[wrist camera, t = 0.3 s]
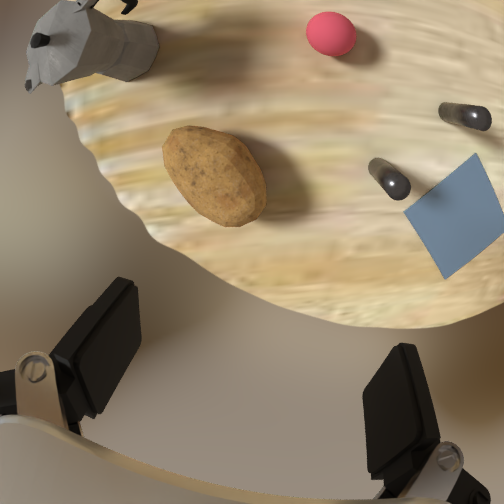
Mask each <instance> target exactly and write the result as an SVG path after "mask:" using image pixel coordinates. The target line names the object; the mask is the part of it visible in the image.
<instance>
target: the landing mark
mask: <svg viewBox="0 0 504 504" xmlns="http://www.w3.org/2000/svg"><path fill="white" fill-rule="evenodd" d="M404 214H405V215H406V217H407V218H408V220H409V221H410V223H411V224H412V226H413V227H414V229H415V230H416V232H417V233H418V235H419V237H420V238H421V240H422V241H423V243H424V245H425V246H426V248H427V249H428V251H429V253H430V254H431V256H432V258H433V260H434V261H435V263H436V265H437V266H438V268H439V270H440V272H441V273H442V275H443V277H444V279H447V278H448V277H449V276H451V275H452V274H453V273H455V272H456V271H457V270H459V269H460V268H461V267H462V266H464V265H465V264H466V263H468V262H469V261H470V260H471V259H473V258H474V257H475V256H476V255H478V254H479V253H480V252H481V251H483V250H484V249H485V248H486V247H487V246H489V245H490V244H491V243H492V242H493V241H494V240H496V239H497V238H498V237H499V236H500V235H501V234H503V233H504V214H503V212H502V209H501V207H500V204H499V202H498V199H497V197H496V194H495V192H494V190H493V187H492V185H491V183H490V181H489V178H488V176H487V174H486V172H485V170H484V168H483V166H482V164H481V162H480V160H479V158H478V156H477V154H476V153H475V154H474V155H472V156H471V157H470V158H469V159H468V160H467V161H465V162H464V163H463V164H462V165H461V166H459V167H458V168H457V169H456V170H455V171H454V172H452V173H451V174H450V175H449V176H448V177H446V178H445V179H444V180H443V181H441V182H440V183H439V184H438V185H437V186H435V187H434V188H433V189H432V190H430V191H429V192H428V193H427V194H425V195H424V196H423V197H422V198H420V199H419V200H418V201H417V202H415V203H414V204H413V205H411V206H410V207H409V208H408V209H406V210H405V211H404Z"/></svg>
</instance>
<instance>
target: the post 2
mask: <svg viewBox="0 0 504 504" xmlns="http://www.w3.org/2000/svg"><path fill="white" fill-rule="evenodd" d="M438 112H439V116H440V118H441V119H442V120H443V121H445V122H449V123H454V124H458V125H462V126H466V127H470V128H474V129H477V130H481V131H486V130H488V129H489V128H490V126H491V123H492V118H491V114H490V112H489V111H488V110H487V109H486V108H485V107H482V106H475V105H467V104H458V103H447V102H444V103H442V104H441V105H440V106H439V110H438Z"/></svg>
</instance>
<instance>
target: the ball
mask: <svg viewBox="0 0 504 504" xmlns="http://www.w3.org/2000/svg"><path fill="white" fill-rule="evenodd" d="M306 35H307V39H308V41H309V43H310V44H311V46H312V47H313V48H314V49H315V50H317V51H318V52H320V53H322V54H324V55H328V56H340V55H343V54H345V53H347V52H349V51H350V50H351V49H352V48H353V46H354V44H355V42H356V31H355V28H354V26H353V24H352V23H351V21H350V20H349V19H347V18H346V17H345V16H343V15H341V14H339V13H335V12H322V13H319V14H317V15H315V16H314V17H313V18H312V19H311V20H310V21H309V23H308V25H307V29H306Z"/></svg>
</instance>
